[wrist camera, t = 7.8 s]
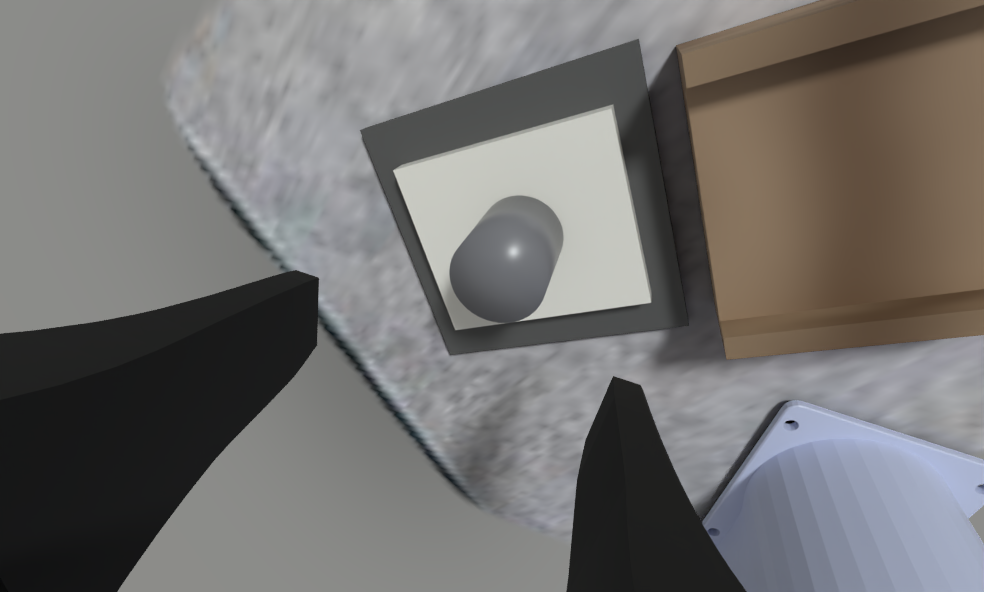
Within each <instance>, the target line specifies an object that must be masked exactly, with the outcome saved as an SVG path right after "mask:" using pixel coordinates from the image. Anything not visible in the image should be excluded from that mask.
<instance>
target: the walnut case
mask: <svg viewBox="0 0 984 592" xmlns="http://www.w3.org/2000/svg"><path fill="white" fill-rule="evenodd" d="M676 50H677V56H678V63H679V70H680V76H681V83H682V90H683V96H684V103H685V110H686V116H687V123H688V130H689V136H690V143H691V150H692V156H693V163H694V170H695V176H696V183H697V190H698V196H699V203H700V210H701V216H702V223H703V230H704V236H705V243H706V250H707V256H708V263H709V270H710V276H711V283H712V290H713V296H714V303H715V308H716V313H717V317H718V322H719V327H720V331H721V336H722V341H723V345H724V350H725V355H726V359H727V360H729V359H739V358H750V357H760V356H770V355H781V354H791V353H801V352H812V351H822V350H833V349H843V348H853V347H864V346H874V345H884V344H895V343H905V342H915V341H926V340H936V339H947V338H957V337H967V336H978V335H984V0H820V1H816V2H813V3H810V4H807V5H804V6H801V7H797V8H794V9H791V10H788V11H785V12H781V13H778V14H775V15H772V16H769V17H765V18H762V19H759V20H756V21H753V22H749V23H746V24H743V25H740V26H737V27H734V28H730V29H727V30H724V31H721V32H718V33H714V34H711V35H708V36H705V37H702V38H698V39H695V40H692V41H689V42H686V43H683V44H679V45H676Z"/></svg>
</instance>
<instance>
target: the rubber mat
mask: <svg viewBox="0 0 984 592" xmlns="http://www.w3.org/2000/svg"><path fill="white" fill-rule="evenodd" d="M609 105H613V106H614V111H615V116H616V121H617V126H618V131H619V136H620V141H621V145H622V150H623V155H624V160H625V165H626V170H627V175H628V180H629V185H630V190H631V195H632V200H633V204H634V209H635V214H636V219H637V224H638V229H639V234H640V239H641V244H642V249H643V254H644V258H645V263H646V268H647V273H648V278H649V283H650V288H651V303H646V304H639V305H632V306H625V307H617V308H610V309H603V310H596V311H589V312H582V313H575V314H568V315H561V316H553V317H546V318H539V319H532V320H525V321H518V322H511V323H504V324H497V325H489V326H482V327H475V328H468V329H461V330H455V328H454V326H453V323H452V321H451V318H450V315H449V313H448V310H447V308H446V305H445V303H444V300H443V297H442V295H441V292H440V290H439V287H438V285H437V282H436V279H435V277H434V274H433V272H432V269H431V267H430V264H429V261H428V259H427V256H426V254H425V251H424V249H423V246H422V243H421V241H420V238H419V236H418V233H417V231H416V228H415V225H414V223H413V220H412V218H411V215H410V213H409V210H408V208H407V205H406V202H405V200H404V197H403V195H402V192H401V190H400V187H399V184H398V182H397V179H396V177H395V174H394V172H393V170H394V169H396V168H398V167H399V166H401V165H403V164H406V163H410V162H413V161H417V160H420V159H424V158H427V157H431V156H434V155H438V154H441V153H445V152H448V151H452V150H455V149H459V148H462V147H466V146H469V145H473V144H476V143H480V142H483V141H487V140H490V139H494V138H497V137H501V136H504V135H508V134H511V133H515V132H518V131H522V130H525V129H529V128H532V127H536V126H539V125H543V124H546V123H550V122H553V121H557V120H560V119H564V118H567V117H571V116H574V115H578V114H581V113H585V112H588V111H592V110H595V109H599V108H602V107H606V106H609ZM360 132H361V134H362V137H363V139H364V141H365V144H366V146H367V149H368V151H369V154H370V156H371V159H372V161H373V164H374V166H375V169H376V171H377V174H378V176H379V179H380V181H381V184H382V186H383V189H384V191H385V194H386V196H387V199H388V201H389V204H390V206H391V209H392V211H393V213H394V216H395V218H396V221H397V223H398V226H399V228H400V231H401V233H402V236H403V238H404V241H405V243H406V246H407V248H408V251H409V253H410V256H411V258H412V261H413V263H414V266H415V268H416V271H417V273H418V276H419V278H420V281H421V283H422V285H423V288H424V290H425V293H426V295H427V298H428V300H429V303H430V305H431V308H432V310H433V313H434V315H435V318H436V320H437V323H438V325H439V328H440V330H441V333H442V335H443V338H444V340H445V343H446V345H447V348H448V350H449V353H450V355H452V354H460V353H468V352H476V351H485V350H493V349H501V348H509V347H517V346H526V345H534V344H542V343H550V342H558V341H567V340H575V339H583V338H591V337H599V336H608V335H616V334H624V333H632V332H640V331H649V330H657V329H665V328H673V327H681V326H689V323H688V316H687V311H686V305H685V299H684V294H683V288H682V282H681V276H680V271H679V265H678V259H677V254H676V248H675V242H674V237H673V231H672V225H671V220H670V214H669V208H668V203H667V197H666V191H665V186H664V180H663V174H662V169H661V163H660V157H659V151H658V146H657V140H656V134H655V129H654V123H653V117H652V112H651V106H650V100H649V95H648V89H647V83H646V78H645V72H644V66H643V61H642V55H641V49H640V44H639V39H637V40H634V41H631V42H628V43H625V44H622V45H619V46H616V47H612V48H609V49H606V50H603V51H600V52H597V53H594V54H591V55H588V56H585V57H582V58H579V59H576V60H573V61H570V62H566V63H563V64H560V65H557V66H554V67H551V68H548V69H545V70H542V71H539V72H536V73H533V74H530V75H527V76H524V77H521V78H517V79H514V80H511V81H508V82H505V83H502V84H499V85H496V86H493V87H490V88H487V89H484V90H481V91H478V92H475V93H471V94H468V95H465V96H462V97H459V98H456V99H453V100H450V101H447V102H444V103H441V104H438V105H435V106H432V107H429V108H425V109H422V110H419V111H416V112H413V113H410V114H407V115H404V116H401V117H398V118H395V119H392V120H389V121H386V122H383V123H380V124H376V125H373V126H370V127H367V128H364V129H362V130H360Z"/></svg>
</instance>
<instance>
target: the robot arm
mask: <svg viewBox="0 0 984 592" xmlns="http://www.w3.org/2000/svg"><path fill="white" fill-rule="evenodd" d="M318 287H319V278H318V277H315V276H312V275H309V274H306V273H303V272H300V271H297V270H295V271H290V272H286V273H282V274H279V275H275V276H272V277H268V278H265V279H262V280H259V281H256V282H252V283H249V284H246V285H242V286H240V287H236V288H233V289H230V290H226V291H223V292H219V293H216V294H213V295H210V296H206V297H202V298H199V299H195V300H191V301H188V302H184V303H180V304H176V305H173V306H169V307H165V308H161V309H157V310H153V311H149V312H144V313H140V314H135V315H130V316H126V317H120V318H115V319H110V320H104V321H99V322H93V323H86V324H78V325H71V326H64V327H56V328H49V329H42V330H34V331H25V332H15V333H4V334H0V592H117V591H118V590H119V588H120V586H121V585H122V583H123V582H124V581H125V579H126V578H127V576H128V575H129V573H130V572H131V571H132V569H133V568H134V566H135V565H136V563H137V562H138V560H139V559H140V558H141V556H142V555H143V553H144V552H145V551H146V549H147V548H148V546H149V545H150V543H151V542H152V541H153V539H154V538H155V536H156V535H157V534H158V532H159V531H160V530H161V528H162V527H163V526H164V524H165V523H166V522H167V520H168V519H169V518H170V516H171V515H172V514H173V512H174V511H175V510H176V508H177V507H178V506H179V504H180V503H181V502H182V500H183V499H184V498H185V496H186V495H187V494H188V493H189V491H190V490H191V489H192V488H193V486H194V485H195V484H196V482H197V481H198V480H199V479H200V478H201V476H202V475H203V474H204V472H205V471H206V470H207V469H208V467H209V466H210V465H211V463H212V462H213V461H214V460H215V459H216V457H218V456H219V454H220V453H221V452H222V451H223V450H224V449H225V448H226V446H228V444H229V443H230V442H231V441H232V440H233V439H234V438H235V437H236V436H237V435H238V434H239V433H240V432H241V431H242V430H243V429H244V428H245V427H246V426H247V425H248V424H249V423H250V422H251V421H252V420H253V419H254V418H255V417H256V416H257V415H258V414H259V413H260V412H261V411H262V410H263V408H265V407H266V406H267V405H268V403H269V402H270V401H271V400H272V399H273V398H274V397H275V396H276V395H277V394H278V393H279V392H280V391H281V390H282V389H283V388H284V387H285V386H286V385H287V384H288V382H289V381H290V380H291V379H292V378H293V377H294V376H295V375H296V373H297V372H298V371H299V369H300V368H301V367H302V365H303V364H304V363H305V361H306V360H307V358H308V357H309V355H310V354H311V353H312V351H313V350H314V349H315V347H316V346H317V324H318ZM789 420H794V421H795V422H794V423H791V424H787V423H785V422H786V421H789ZM980 484H983V485H980ZM978 485H980V486H978ZM983 505H984V460H983V459H980V458H977V457H974V456H971V455H968V454H965V453H962V452H959V451H956V450H952V449H949V448H946V447H943V446H940V445H937V444H934V443H931V442H928V441H925V440H922V439H918V438H915V437H912V436H909V435H906V434H903V433H900V432H897V431H894V430H891V429H887V428H884V427H881V426H878V425H875V424H872V423H869V422H866V421H863V420H860V419H857V418H853V417H850V416H847V415H844V414H841V413H838V412H835V411H832V410H829V409H826V408H823V407H819V406H816V405H813V404H810V403H807V402H804V401H799V400H793V401H789V402H787V403H785V404H784V405H783V406H782V407H781V409H780V410H779V412H778V413H777V415H776V416H775V418H774V419H773V420H772V422H771V423H770V425H769V426H768V428H767V429H766V431H765V432H764V433H763V435H762V436H761V438H760V439H759V441H758V442H757V444H756V445H755V446H754V448H753V449H752V451H751V452H750V454H749V455H748V457H747V458H746V459H745V461H744V462H743V464H742V465H741V467H740V468H739V469H738V471H737V472H736V474H735V475H734V477H733V478H732V480H731V481H730V482H729V484H728V485H727V487H726V488H725V490H724V491H723V493H722V494H721V495H720V497H719V498H718V500H717V501H716V503H715V504H714V506H713V507H712V508H711V510H710V511H709V513H708V514H707V516H706V517H705V519H704V520H703V521H702V523H701V521H700V519H699V517H698V516H697V514H696V512H695V510H694V508H693V506H692V504H691V502H690V500H689V499H688V497H687V495H686V493H685V491H684V489H683V487H682V485H681V483H680V481H679V478H678V476H677V474H676V472H675V470H674V468H673V466H672V463H671V461H670V459H669V456H668V454H667V452H666V450H665V447H664V445H663V443H662V440H661V438H660V435H659V433H658V430H657V428H656V425H655V422H654V420H653V417H652V414H651V412H650V409H649V406H648V403H647V400H646V397H645V394H644V392H643V389H642V387H641V385H638V384H635V383H632V382H629V381H626V380H623V379H620V378H617V377H614V376H613V378H612V380H611V383H610V385H609V387H608V389H607V392H606V394H605V396H604V399H603V401H602V403H601V406H600V408H599V410H598V413H597V415H596V417H595V419H594V422H593V424H592V426H591V429H590V431H589V433H588V436H587V438H586V441H585V445H584V450H583V455H582V459H581V464H580V469H579V474H578V479H577V487H576V498H575V509H574V520H573V531H572V543H571V554H570V566H569V577H568V584H567V592H984V544H983V542H982V541H981V539H980V537H979V536H978V534H977V532H976V531H975V529H974V528H973V526H972V524H971V523H970V521H969V520H968V518H969V517H971V516H972V515H973V514H974V513H975V512H976V511H977V510H979V509H980V508H981V507H982V506H983ZM712 528H715V529H712Z"/></svg>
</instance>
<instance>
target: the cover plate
mask: <svg viewBox="0 0 984 592" xmlns="http://www.w3.org/2000/svg"><path fill="white" fill-rule="evenodd" d="M393 172H394V174H395V177H396V179H397V182H398V184H399V187H400V190H401V192H402V195H403V197H404V200H405V202H406V205H407V208H408V210H409V213H410V215H411V218H412V220H413V223H414V225H415V228H416V231H417V233H418V236H419V238H420V241H421V243H422V246H423V249H424V251H425V254H426V256H427V259H428V261H429V264H430V267H431V269H432V272H433V274H434V277H435V279H436V282H437V285H438V287H439V290H440V292H441V295H442V297H443V300H444V303H445V305H446V308H447V310H448V313H449V315H450V318H451V321H452V323H453V326H454V328H455V330H461V329H468V328H475V327H482V326H489V325H497V324H504V323H511V322H518V321H525V320H532V319H539V318H546V317H553V316H561V315H568V314H575V313H582V312H589V311H596V310H603V309H610V308H617V307H625V306H632V305H639V304H646V303H651V288H650V283H649V278H648V273H647V268H646V263H645V258H644V254H643V249H642V244H641V239H640V234H639V229H638V224H637V219H636V214H635V209H634V204H633V200H632V195H631V190H630V185H629V180H628V175H627V170H626V165H625V160H624V155H623V150H622V145H621V141H620V136H619V131H618V126H617V121H616V116H615V111H614V106H613V105H609V106H606V107H602V108H599V109H595V110H592V111H588V112H585V113H581V114H578V115H574V116H571V117H567V118H564V119H560V120H557V121H553V122H550V123H546V124H543V125H539V126H536V127H532V128H529V129H525V130H522V131H518V132H515V133H511V134H508V135H504V136H501V137H497V138H494V139H490V140H487V141H483V142H480V143H476V144H473V145H469V146H466V147H462V148H459V149H455V150H452V151H448V152H445V153H441V154H438V155H434V156H431V157H427V158H424V159H420V160H417V161H413V162H410V163H406V164H403V165H401V166H399V167H398V168H396V169H394V170H393Z"/></svg>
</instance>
